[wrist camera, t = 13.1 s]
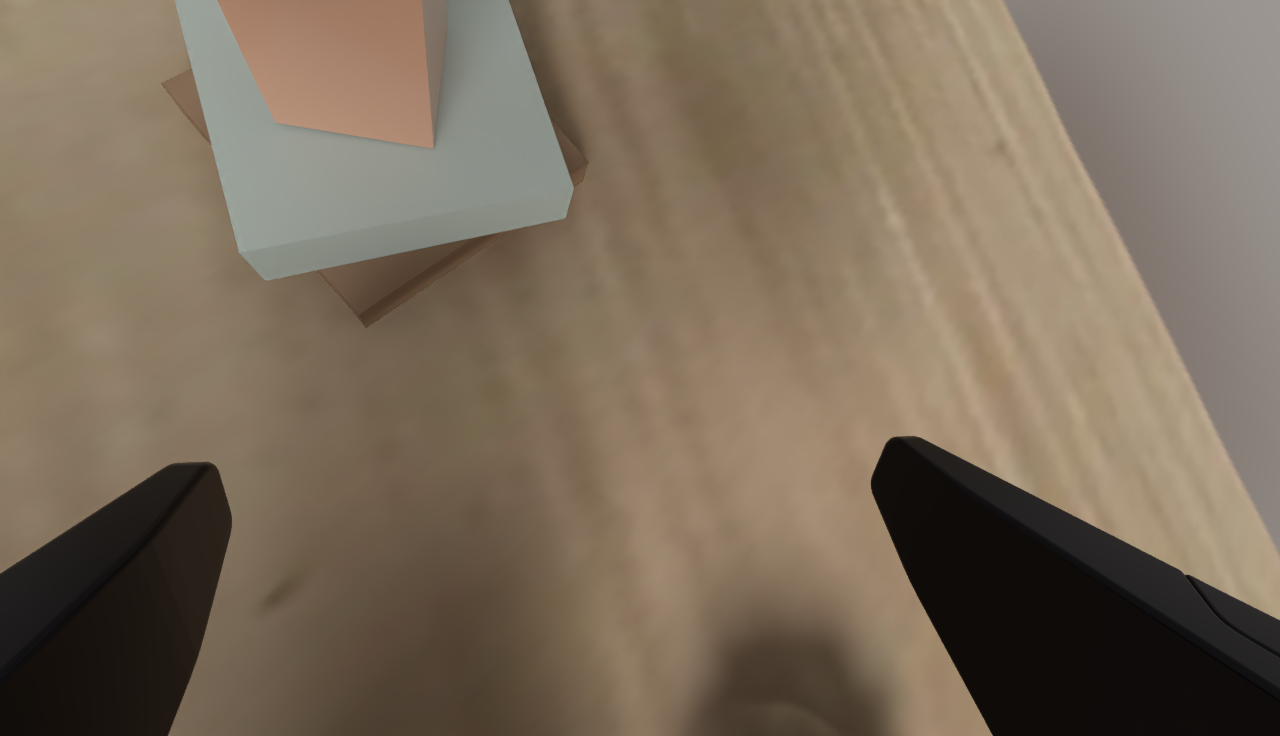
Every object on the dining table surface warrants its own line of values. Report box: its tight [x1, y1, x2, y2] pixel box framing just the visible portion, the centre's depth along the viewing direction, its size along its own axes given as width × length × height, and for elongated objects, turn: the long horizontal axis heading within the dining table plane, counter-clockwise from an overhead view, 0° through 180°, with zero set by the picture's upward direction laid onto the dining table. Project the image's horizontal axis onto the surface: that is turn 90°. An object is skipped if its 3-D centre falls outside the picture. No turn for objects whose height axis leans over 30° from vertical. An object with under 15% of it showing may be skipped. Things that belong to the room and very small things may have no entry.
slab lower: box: [161, 69, 588, 328], centre depth 23 cm, size 10×10×2 cm
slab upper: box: [175, 0, 574, 281], centre depth 20 cm, size 10×10×2 cm
